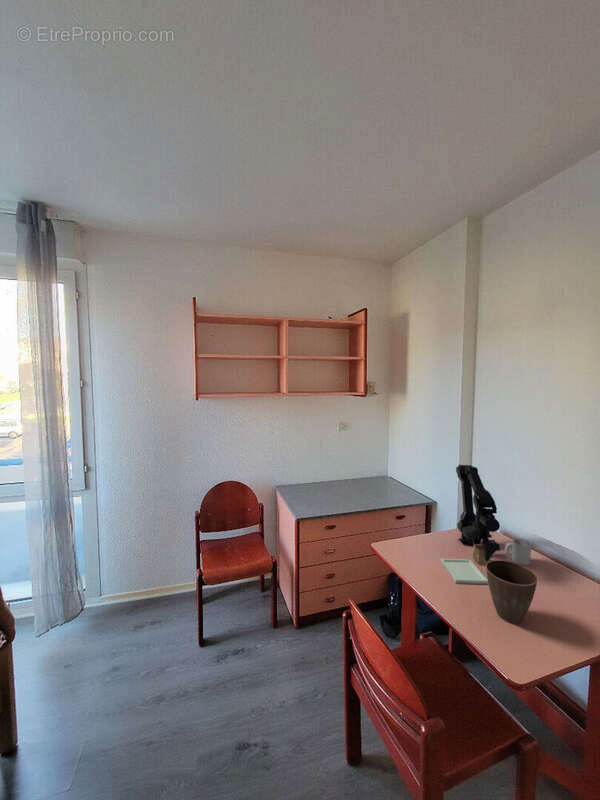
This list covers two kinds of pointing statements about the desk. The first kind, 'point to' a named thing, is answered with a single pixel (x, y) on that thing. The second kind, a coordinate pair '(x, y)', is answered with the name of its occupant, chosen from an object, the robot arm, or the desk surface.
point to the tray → (464, 571)
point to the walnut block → (479, 554)
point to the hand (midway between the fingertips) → (481, 555)
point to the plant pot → (511, 589)
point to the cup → (519, 551)
